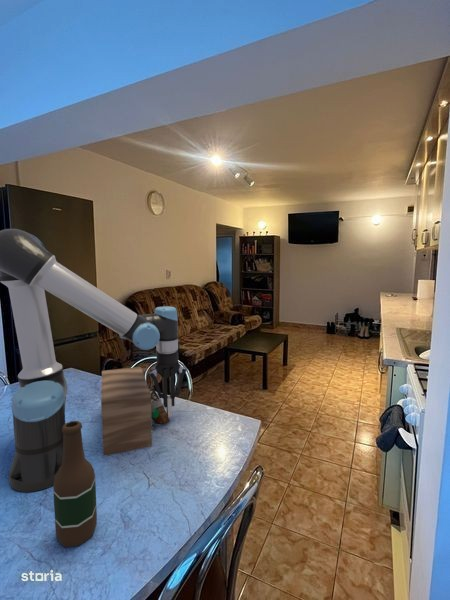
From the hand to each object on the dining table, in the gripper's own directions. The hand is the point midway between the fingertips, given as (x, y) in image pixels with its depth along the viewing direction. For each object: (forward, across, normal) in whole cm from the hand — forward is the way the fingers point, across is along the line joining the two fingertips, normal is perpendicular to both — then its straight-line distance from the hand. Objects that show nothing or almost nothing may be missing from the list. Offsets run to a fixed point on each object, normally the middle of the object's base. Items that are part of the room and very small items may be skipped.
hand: (169, 414), depth 112 cm
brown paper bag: (+2, +15, 0) cm, 15 cm away
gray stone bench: (+2, +9, 0) cm, 10 cm away
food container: (+2, +4, -1) cm, 4 cm away
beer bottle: (+2, +27, +40) cm, 48 cm away
